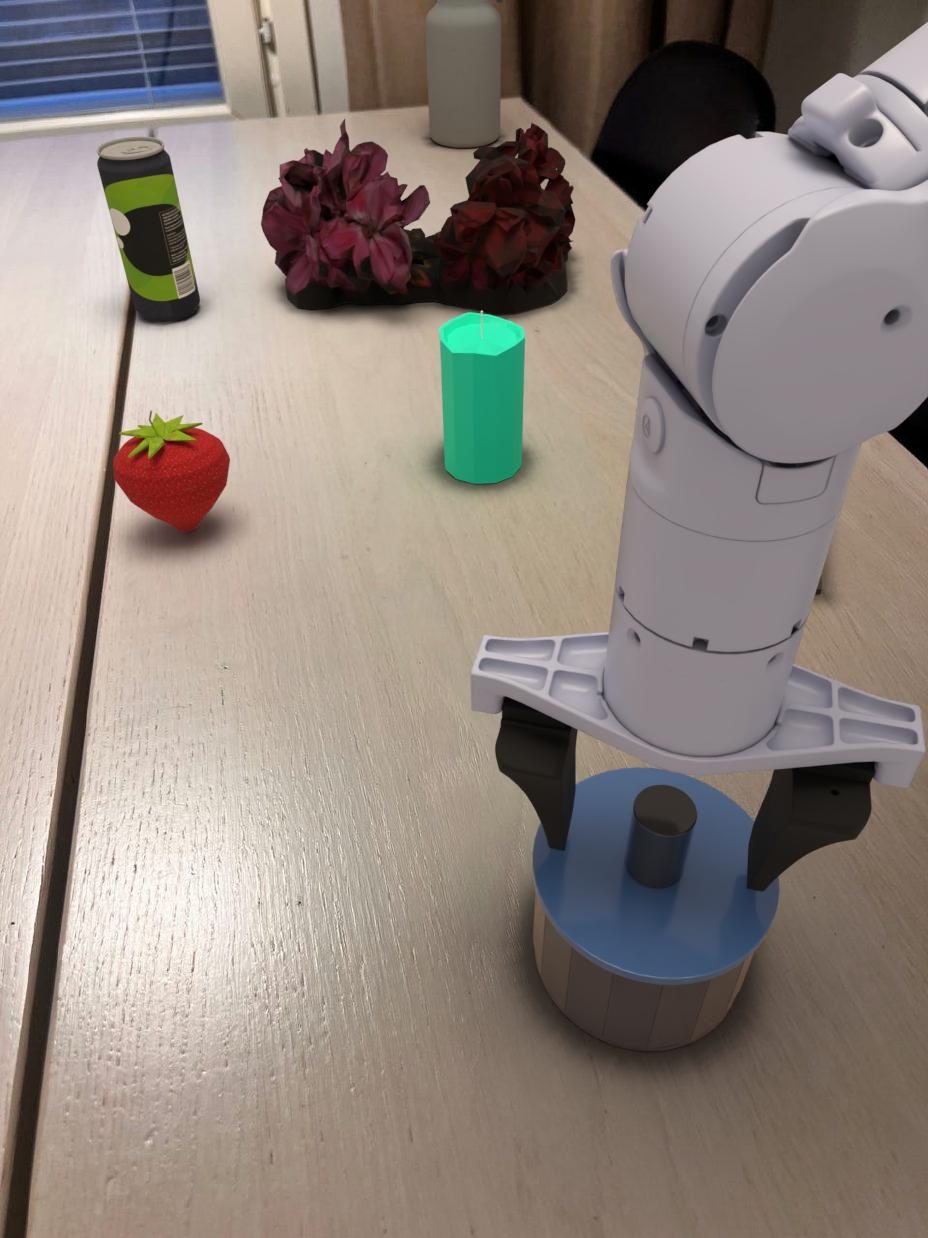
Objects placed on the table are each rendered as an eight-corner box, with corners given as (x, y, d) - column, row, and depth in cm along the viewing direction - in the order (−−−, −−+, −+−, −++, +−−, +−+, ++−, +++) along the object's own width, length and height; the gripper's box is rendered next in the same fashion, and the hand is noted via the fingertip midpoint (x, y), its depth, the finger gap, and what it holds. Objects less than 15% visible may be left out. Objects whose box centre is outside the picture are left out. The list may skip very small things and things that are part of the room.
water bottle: (499, 126, 136) (501, -122, 117) (506, 147, 128) (509, -113, 109) (428, 129, 135) (418, -120, 116) (431, 150, 128) (421, -111, 109)
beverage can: (195, 292, 96) (160, 131, 86) (207, 317, 92) (172, 151, 81) (132, 304, 94) (89, 140, 84) (141, 330, 90) (97, 161, 80)
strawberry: (245, 548, 65) (217, 420, 58) (132, 564, 64) (90, 436, 57) (242, 499, 69) (215, 374, 62) (136, 513, 68) (97, 388, 61)
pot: (744, 883, 45) (771, 801, 41) (735, 1076, 39) (767, 1003, 34) (553, 844, 47) (560, 762, 43) (515, 1022, 41) (518, 947, 36)
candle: (433, 448, 74) (427, 299, 66) (506, 434, 75) (508, 287, 67) (456, 490, 70) (452, 336, 61) (533, 475, 71) (539, 322, 63)
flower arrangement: (555, 236, 105) (563, 85, 95) (601, 314, 91) (616, 145, 80) (271, 258, 102) (247, 104, 92) (271, 342, 87) (243, 170, 77)
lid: (775, 805, 42) (799, 735, 38) (771, 1021, 35) (800, 957, 31) (554, 764, 43) (559, 694, 40) (508, 960, 36) (510, 894, 33)
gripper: (955, 540, 30) (844, 803, 39) (503, 481, 33) (499, 739, 42) (987, 703, 25) (852, 960, 34) (450, 616, 28) (459, 875, 37)
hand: (656, 848), depth 38 cm, fingers open, 7 cm apart
